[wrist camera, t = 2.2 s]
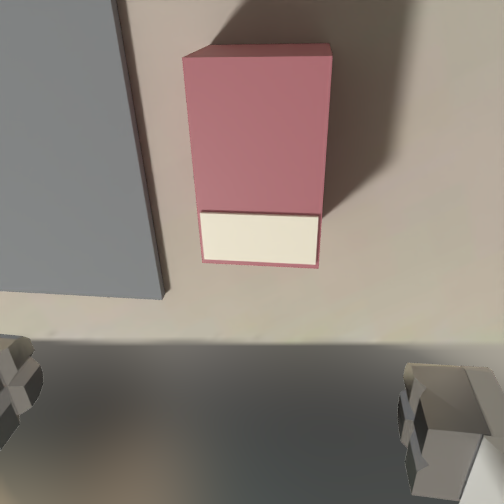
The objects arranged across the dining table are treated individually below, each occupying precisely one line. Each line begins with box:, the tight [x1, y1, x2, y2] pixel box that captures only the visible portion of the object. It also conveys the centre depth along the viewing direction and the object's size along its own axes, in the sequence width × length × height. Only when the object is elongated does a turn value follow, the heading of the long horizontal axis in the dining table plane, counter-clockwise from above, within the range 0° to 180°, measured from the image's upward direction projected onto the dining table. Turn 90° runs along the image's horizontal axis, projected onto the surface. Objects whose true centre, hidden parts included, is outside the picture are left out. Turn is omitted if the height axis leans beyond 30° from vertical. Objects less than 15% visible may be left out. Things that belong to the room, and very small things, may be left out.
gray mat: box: [0, 0, 165, 300], centre depth 24 cm, size 18×16×1 cm
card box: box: [182, 43, 333, 269], centre depth 20 cm, size 9×6×5 cm, turn 1°
